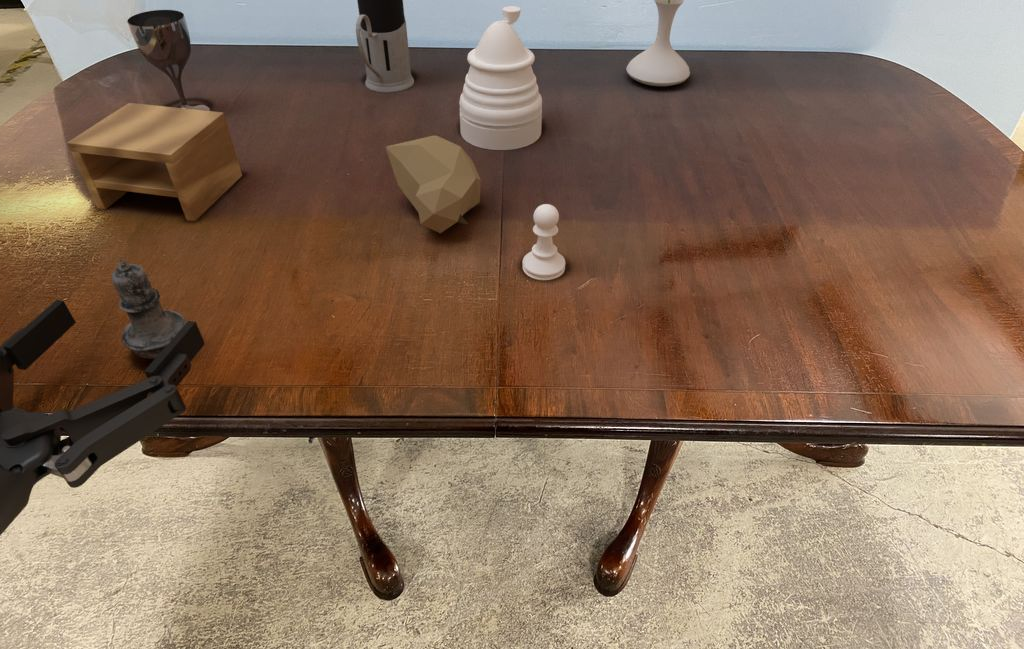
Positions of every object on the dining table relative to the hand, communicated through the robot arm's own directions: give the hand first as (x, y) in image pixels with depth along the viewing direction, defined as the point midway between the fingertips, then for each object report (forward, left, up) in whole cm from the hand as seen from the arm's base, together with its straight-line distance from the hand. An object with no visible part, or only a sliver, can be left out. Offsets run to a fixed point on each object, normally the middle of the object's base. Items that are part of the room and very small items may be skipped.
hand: (130, 321), depth 62 cm
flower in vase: (+45, +85, -7) cm, 96 cm away
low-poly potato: (+20, +32, -7) cm, 38 cm away
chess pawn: (+35, +24, -7) cm, 43 cm away
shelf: (-17, +30, -6) cm, 35 cm away
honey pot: (+22, +59, -7) cm, 63 cm away
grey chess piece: (0, +2, -7) cm, 7 cm away
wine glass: (-30, +54, -7) cm, 62 cm away
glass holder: (-2, +71, -7) cm, 71 cm away
